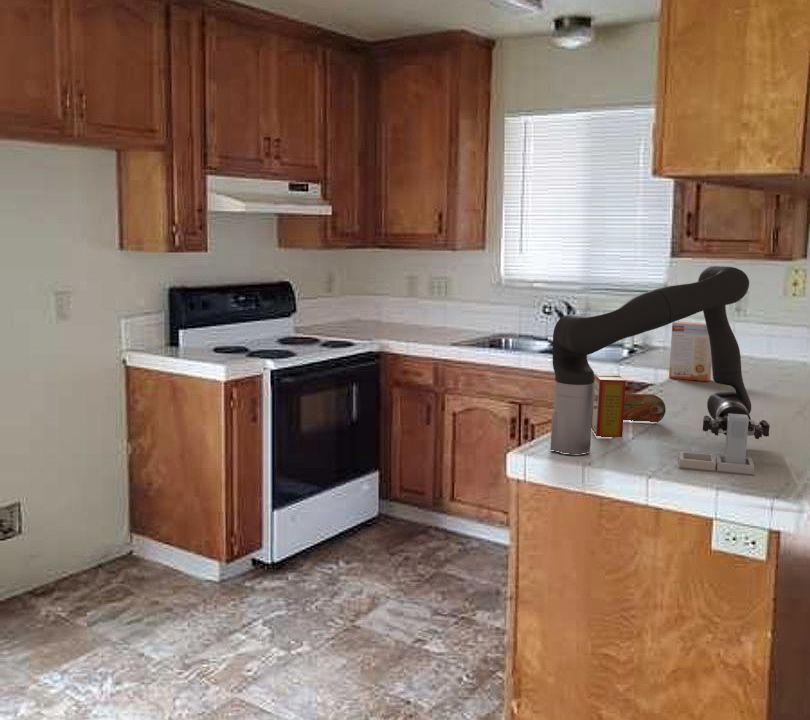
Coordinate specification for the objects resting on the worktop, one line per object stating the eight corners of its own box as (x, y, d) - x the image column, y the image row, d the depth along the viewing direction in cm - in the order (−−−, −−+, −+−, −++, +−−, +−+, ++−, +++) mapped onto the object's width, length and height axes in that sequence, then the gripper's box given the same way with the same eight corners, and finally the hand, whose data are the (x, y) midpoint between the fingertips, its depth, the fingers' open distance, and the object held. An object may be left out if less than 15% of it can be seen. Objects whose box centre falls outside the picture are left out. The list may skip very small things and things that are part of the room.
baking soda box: (622, 439, 225) (625, 379, 223) (596, 438, 226) (600, 378, 223) (615, 431, 235) (619, 372, 232) (591, 430, 235) (594, 372, 233)
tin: (609, 422, 246) (611, 393, 245) (608, 420, 249) (610, 391, 248) (664, 425, 244) (666, 395, 242) (663, 423, 247) (665, 393, 245)
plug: (725, 470, 194) (729, 417, 192) (724, 464, 198) (728, 413, 197) (744, 471, 193) (749, 419, 191) (742, 466, 197) (747, 414, 196)
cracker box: (710, 380, 321) (715, 323, 318) (707, 382, 316) (711, 325, 313) (672, 376, 328) (676, 320, 325) (668, 378, 323) (672, 322, 320)
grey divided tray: (678, 474, 194) (679, 461, 194) (677, 461, 205) (678, 449, 204) (754, 481, 190) (755, 468, 189) (750, 468, 200) (751, 456, 200)
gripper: (702, 400, 211) (704, 413, 195) (766, 405, 207) (773, 419, 191) (700, 430, 212) (702, 446, 197) (763, 436, 208) (770, 452, 192)
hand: (737, 432), depth 194 cm, fingers open, 8 cm apart
